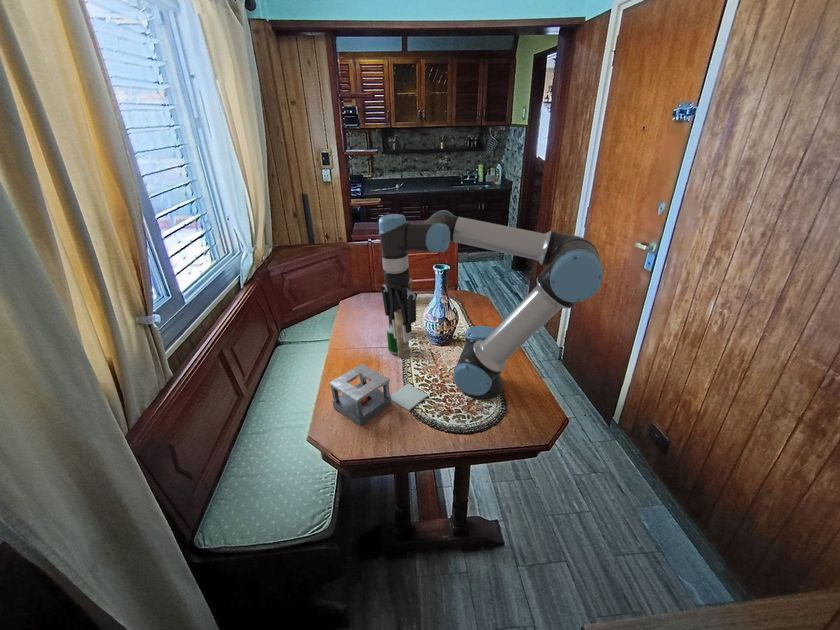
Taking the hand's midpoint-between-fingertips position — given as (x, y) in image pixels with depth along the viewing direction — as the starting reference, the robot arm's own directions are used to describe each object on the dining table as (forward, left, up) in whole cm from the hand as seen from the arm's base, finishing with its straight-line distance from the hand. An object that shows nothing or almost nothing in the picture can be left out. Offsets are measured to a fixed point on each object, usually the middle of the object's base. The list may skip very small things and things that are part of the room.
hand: (402, 338), depth 123 cm
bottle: (+34, -30, -24) cm, 51 cm away
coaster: (0, -1, -24) cm, 24 cm away
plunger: (+9, +12, -23) cm, 28 cm away
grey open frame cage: (+9, +12, -24) cm, 29 cm away
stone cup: (+55, -54, -24) cm, 81 cm away
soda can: (+24, -20, -24) cm, 39 cm away
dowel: (0, 0, -7) cm, 7 cm away
